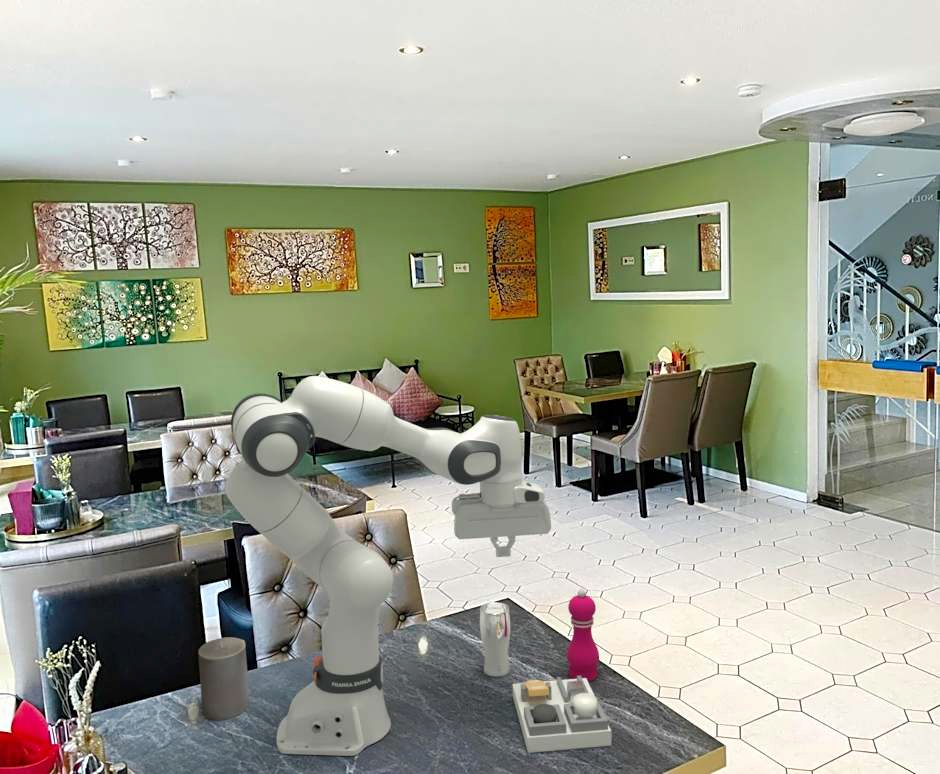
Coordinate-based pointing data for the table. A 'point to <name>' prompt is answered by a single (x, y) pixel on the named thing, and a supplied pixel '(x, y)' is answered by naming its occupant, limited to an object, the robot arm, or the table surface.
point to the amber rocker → (536, 688)
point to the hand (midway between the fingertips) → (503, 555)
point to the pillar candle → (223, 678)
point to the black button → (544, 713)
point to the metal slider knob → (574, 689)
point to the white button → (585, 705)
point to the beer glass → (495, 638)
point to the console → (560, 720)
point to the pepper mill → (582, 638)
